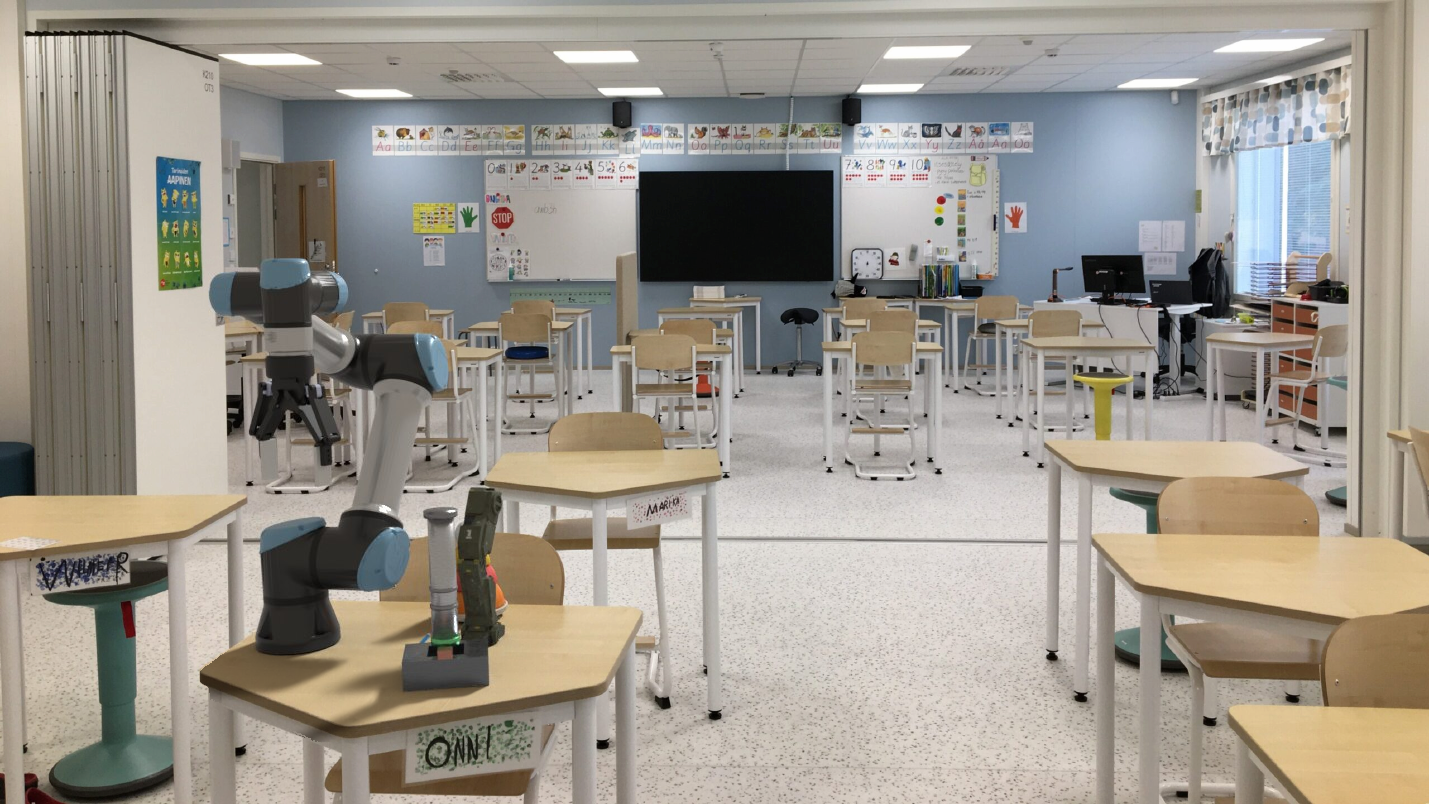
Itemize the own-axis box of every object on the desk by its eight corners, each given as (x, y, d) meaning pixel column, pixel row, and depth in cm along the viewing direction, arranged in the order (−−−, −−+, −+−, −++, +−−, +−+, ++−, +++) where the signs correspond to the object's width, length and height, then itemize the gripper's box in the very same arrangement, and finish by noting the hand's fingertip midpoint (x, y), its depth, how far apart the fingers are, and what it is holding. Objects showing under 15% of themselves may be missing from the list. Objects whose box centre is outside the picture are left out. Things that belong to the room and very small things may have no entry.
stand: (406, 672, 200) (405, 635, 200) (488, 665, 203) (487, 629, 202) (402, 692, 191) (401, 653, 190) (489, 685, 193) (487, 647, 193)
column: (429, 639, 198) (423, 507, 196) (462, 637, 200) (457, 506, 197) (428, 649, 193) (422, 514, 190) (462, 647, 194) (457, 512, 192)
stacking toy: (522, 611, 236) (519, 517, 234) (473, 630, 224) (469, 531, 222) (471, 602, 244) (468, 511, 241) (421, 619, 232) (417, 523, 229)
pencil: (432, 635, 222) (432, 632, 222) (405, 665, 205) (405, 661, 205) (428, 635, 222) (428, 631, 222) (401, 665, 205) (401, 661, 205)
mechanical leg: (479, 653, 207) (489, 485, 211) (442, 651, 209) (452, 484, 212) (508, 647, 221) (517, 490, 224) (472, 645, 222) (482, 489, 226)
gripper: (221, 353, 192) (229, 479, 194) (320, 357, 178) (327, 492, 181) (260, 350, 198) (267, 472, 200) (359, 353, 185) (365, 484, 187)
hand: (296, 482), depth 191 cm, fingers open, 13 cm apart
